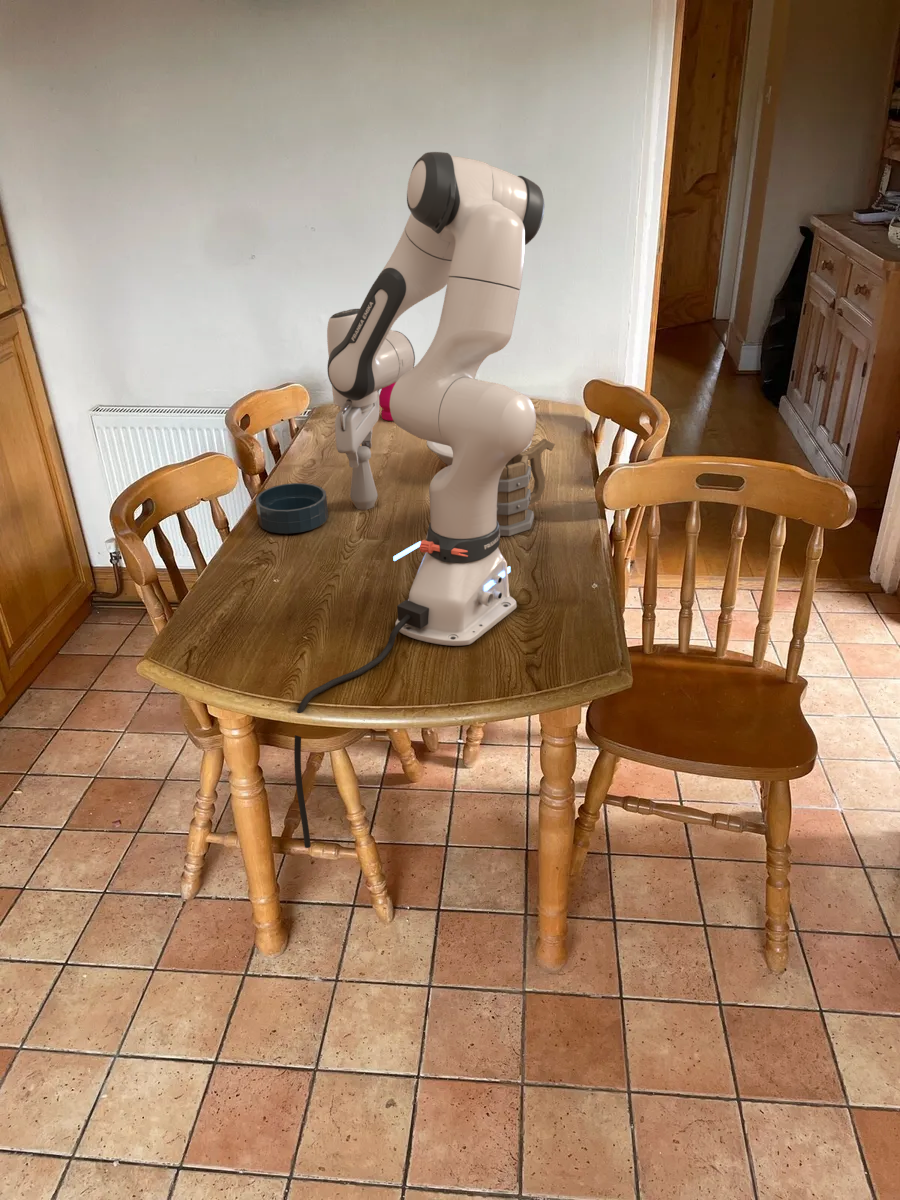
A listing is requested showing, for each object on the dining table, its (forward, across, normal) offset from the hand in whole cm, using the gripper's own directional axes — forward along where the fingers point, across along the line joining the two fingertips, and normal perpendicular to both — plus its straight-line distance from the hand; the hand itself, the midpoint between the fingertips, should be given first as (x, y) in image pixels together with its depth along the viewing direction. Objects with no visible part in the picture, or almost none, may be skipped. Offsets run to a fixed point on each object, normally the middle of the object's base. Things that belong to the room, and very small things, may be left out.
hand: (361, 457), depth 191 cm
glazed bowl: (+11, -10, +13) cm, 19 cm away
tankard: (+11, -2, -32) cm, 34 cm away
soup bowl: (+12, +24, -21) cm, 34 cm away
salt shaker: (+11, 0, 0) cm, 11 cm away
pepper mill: (+1, +56, +7) cm, 57 cm away
